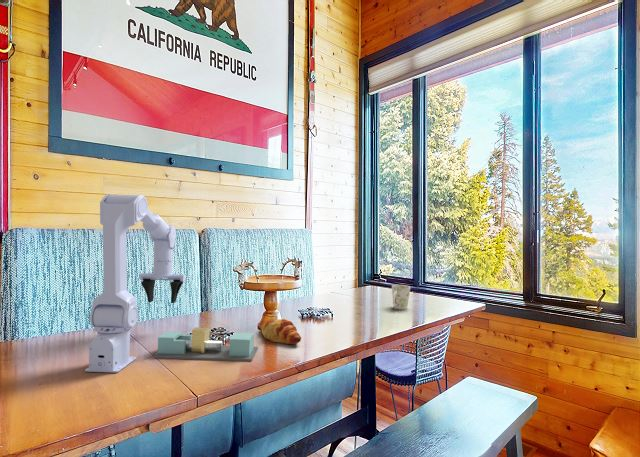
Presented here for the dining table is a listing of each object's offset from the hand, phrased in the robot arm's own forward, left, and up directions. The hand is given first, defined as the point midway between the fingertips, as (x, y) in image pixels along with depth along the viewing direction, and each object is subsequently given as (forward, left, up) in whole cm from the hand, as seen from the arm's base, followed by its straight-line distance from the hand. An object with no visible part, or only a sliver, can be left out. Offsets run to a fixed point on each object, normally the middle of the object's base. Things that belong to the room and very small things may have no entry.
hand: (162, 302), depth 123 cm
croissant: (-2, -40, -10) cm, 41 cm away
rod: (-18, -17, -9) cm, 26 cm away
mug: (+45, -88, -10) cm, 99 cm away
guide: (-18, -21, -10) cm, 29 cm away
